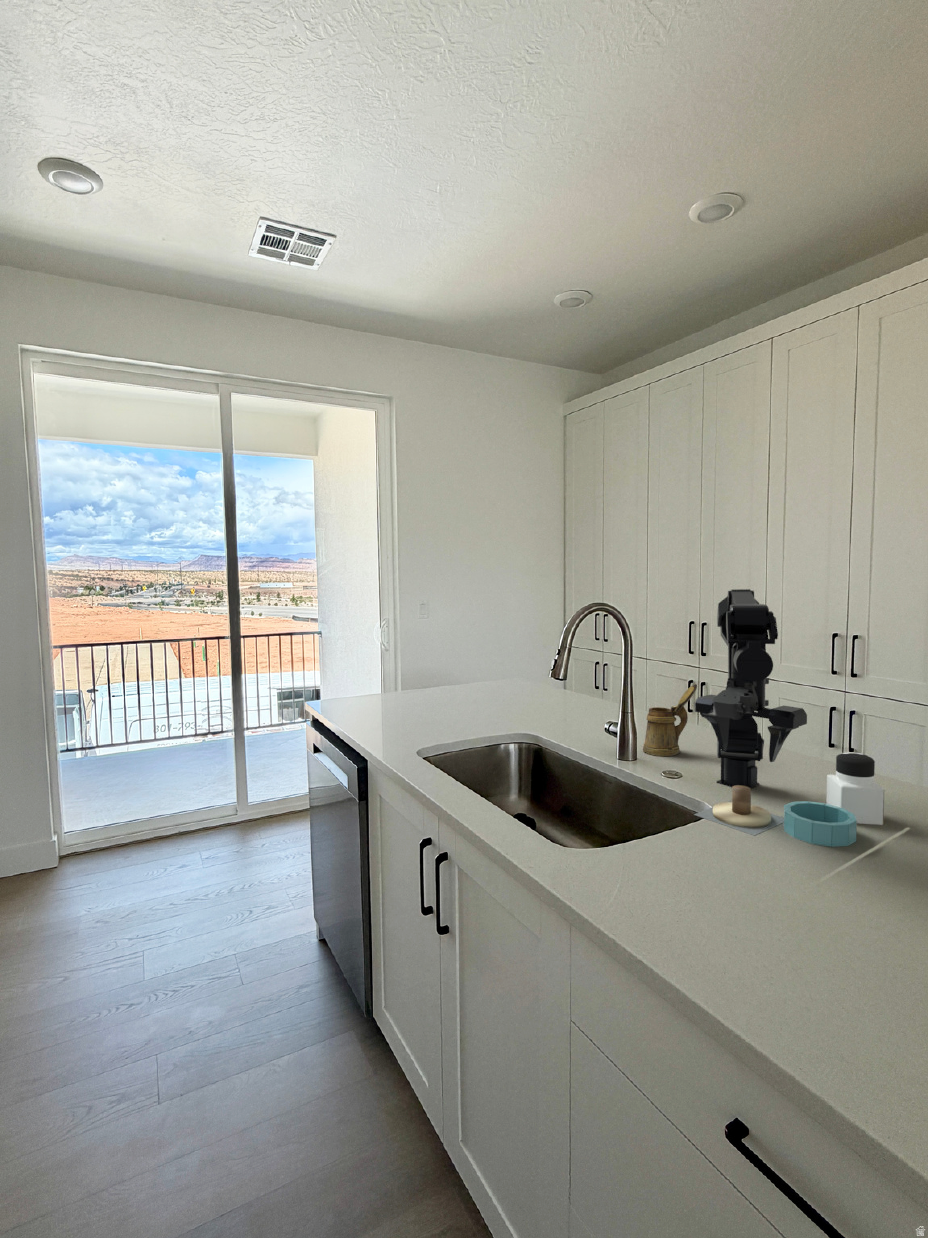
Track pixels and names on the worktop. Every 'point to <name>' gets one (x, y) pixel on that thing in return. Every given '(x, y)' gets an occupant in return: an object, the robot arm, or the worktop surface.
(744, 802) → the lid
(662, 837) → the worktop surface
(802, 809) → the bowl
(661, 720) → the wooden mug
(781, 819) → the mat
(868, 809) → the medicine bottle
